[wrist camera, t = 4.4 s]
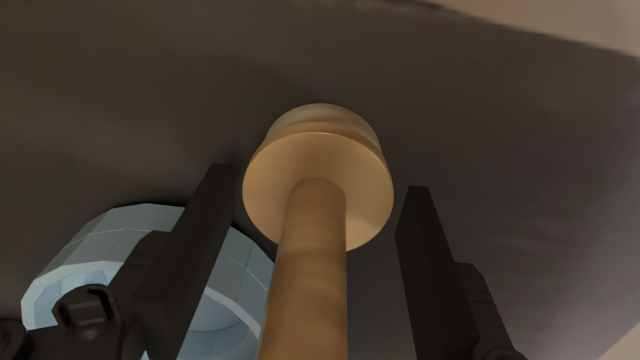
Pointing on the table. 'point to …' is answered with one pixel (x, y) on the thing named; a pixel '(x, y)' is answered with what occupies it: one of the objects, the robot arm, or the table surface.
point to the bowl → (216, 302)
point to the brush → (314, 223)
